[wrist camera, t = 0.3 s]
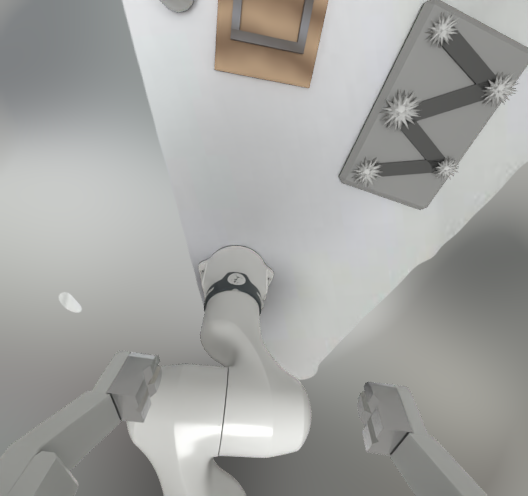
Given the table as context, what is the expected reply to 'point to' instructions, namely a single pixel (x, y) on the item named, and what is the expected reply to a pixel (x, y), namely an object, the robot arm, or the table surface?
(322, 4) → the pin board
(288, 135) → the table surface
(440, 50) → the decorative plate
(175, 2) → the salt shaker
